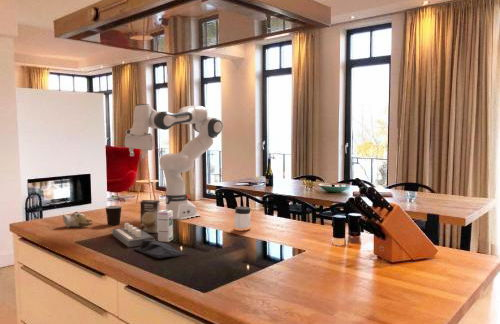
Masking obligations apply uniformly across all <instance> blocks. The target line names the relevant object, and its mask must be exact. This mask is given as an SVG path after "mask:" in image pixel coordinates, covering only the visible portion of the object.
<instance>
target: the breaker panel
mask: <svg viewBox="0 0 500 324" xmlns="http://www.w3.org/2000/svg"><path fill="white" fill-rule="evenodd" d="M133 227H136V228H137V230H141V229H140V228H139V227H138V226H134V225H133ZM111 230H112V234H111V235H112V236H113V237H114V238H116V239H117V240H118V241H120V242H121V243H122V244H124V245H125V246H126V247H127V248H135V247H141V244H142V241H143V239H149V240H155V237H154V236H153V235H151V234H150V233H149V232H144V231H143V230H141V237H138V238H137V237H136V236H135V235H133V234H131V232H128V230H125V229H124V227H120V228H112V229H111Z"/></svg>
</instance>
